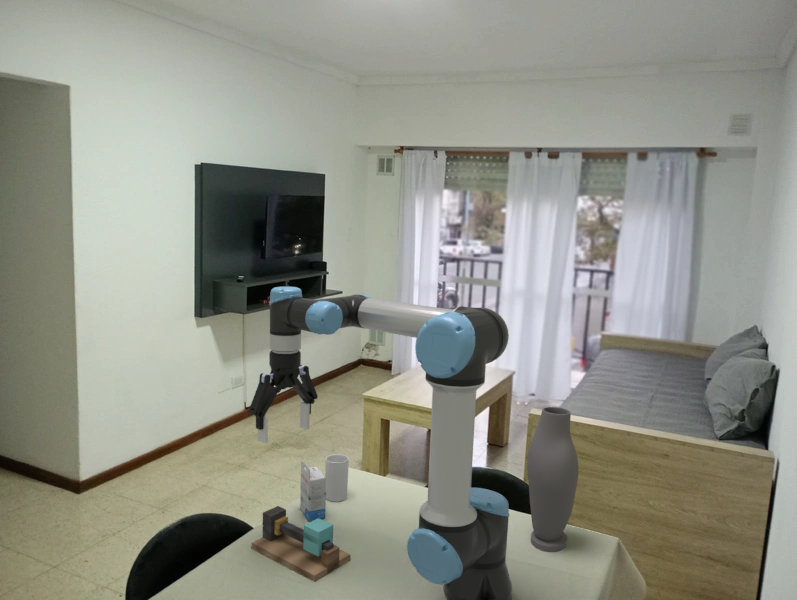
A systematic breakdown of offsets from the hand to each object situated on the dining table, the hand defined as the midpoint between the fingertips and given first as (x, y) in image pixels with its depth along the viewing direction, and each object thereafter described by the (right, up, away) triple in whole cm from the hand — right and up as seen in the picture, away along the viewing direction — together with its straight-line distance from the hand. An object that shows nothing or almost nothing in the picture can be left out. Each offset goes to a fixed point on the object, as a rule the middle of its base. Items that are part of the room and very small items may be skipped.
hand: (284, 434), depth 159 cm
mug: (+10, -25, +31) cm, 41 cm away
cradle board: (+4, -29, -2) cm, 29 cm away
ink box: (+5, -26, +19) cm, 32 cm away
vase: (+67, -30, +9) cm, 74 cm away
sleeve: (+9, -26, -7) cm, 28 cm away
